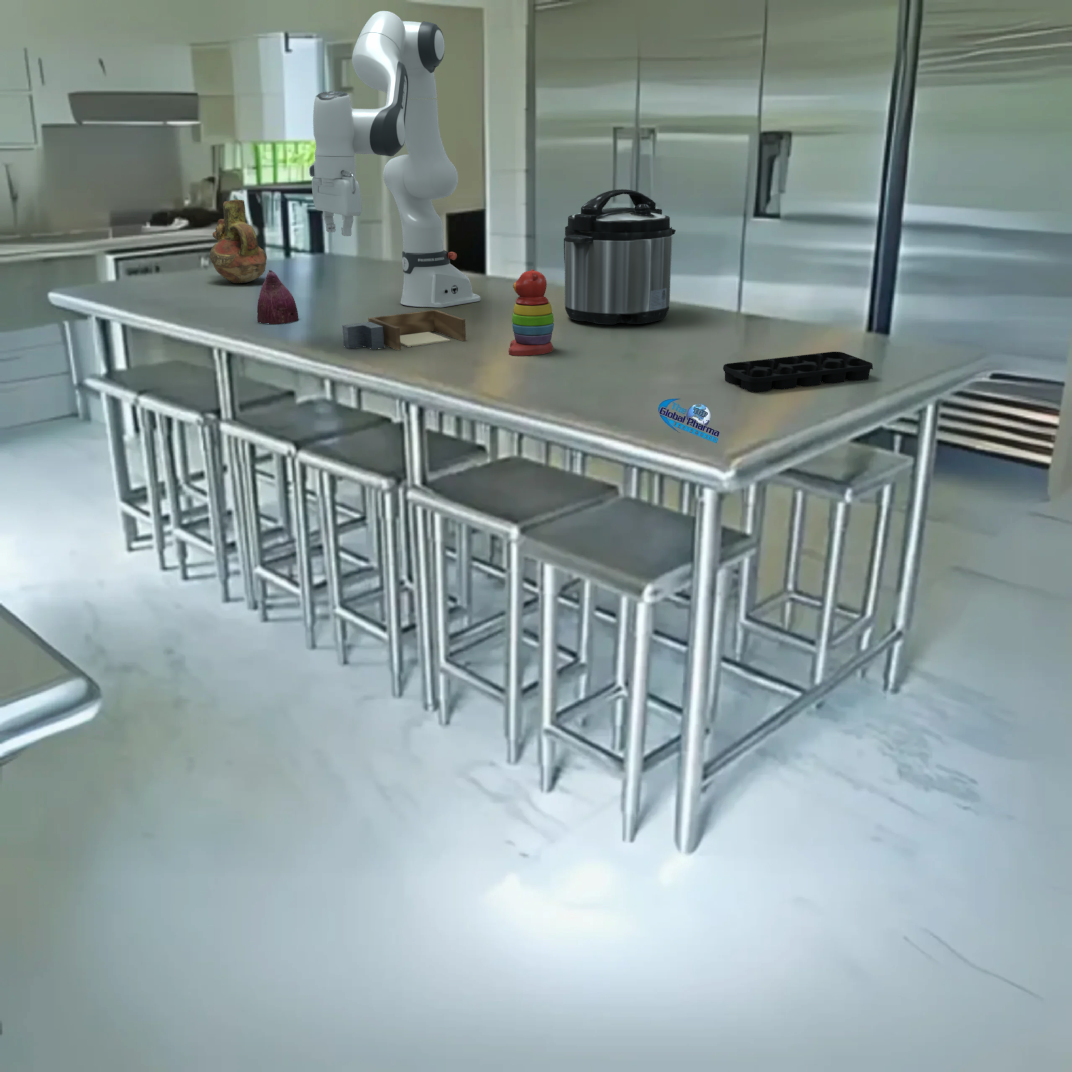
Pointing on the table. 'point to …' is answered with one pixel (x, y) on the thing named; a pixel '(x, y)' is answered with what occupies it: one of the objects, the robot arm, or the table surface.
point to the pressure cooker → (618, 261)
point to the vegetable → (275, 302)
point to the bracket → (363, 335)
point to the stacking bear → (531, 316)
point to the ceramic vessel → (237, 246)
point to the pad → (421, 339)
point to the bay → (419, 325)
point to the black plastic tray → (797, 371)
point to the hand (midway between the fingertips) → (338, 234)
